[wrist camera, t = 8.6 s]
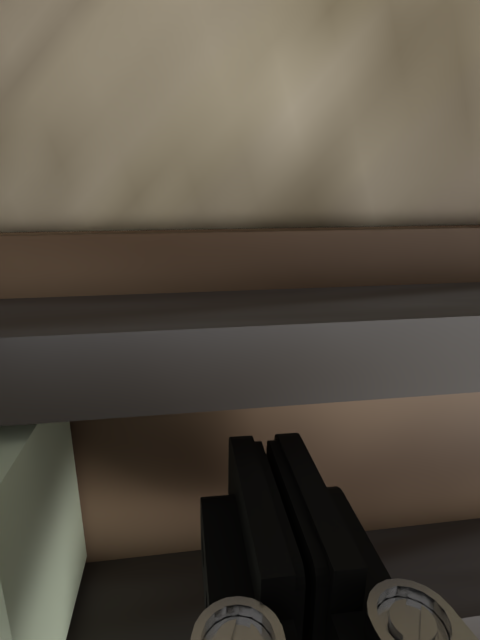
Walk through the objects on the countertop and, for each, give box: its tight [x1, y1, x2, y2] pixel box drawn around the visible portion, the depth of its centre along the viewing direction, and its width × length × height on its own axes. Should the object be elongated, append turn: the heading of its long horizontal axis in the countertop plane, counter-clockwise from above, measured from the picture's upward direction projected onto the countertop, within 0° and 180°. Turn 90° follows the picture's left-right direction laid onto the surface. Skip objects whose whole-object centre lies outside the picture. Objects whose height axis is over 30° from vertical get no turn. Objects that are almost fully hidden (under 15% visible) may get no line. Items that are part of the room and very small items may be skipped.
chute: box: [0, 225, 480, 640], centre depth 11 cm, size 12×24×5 cm, turn 90°
